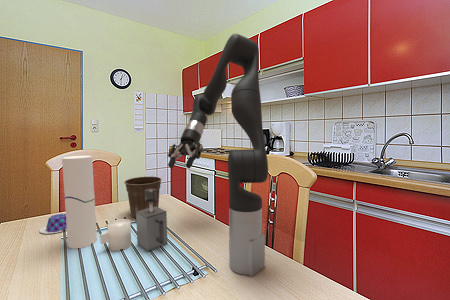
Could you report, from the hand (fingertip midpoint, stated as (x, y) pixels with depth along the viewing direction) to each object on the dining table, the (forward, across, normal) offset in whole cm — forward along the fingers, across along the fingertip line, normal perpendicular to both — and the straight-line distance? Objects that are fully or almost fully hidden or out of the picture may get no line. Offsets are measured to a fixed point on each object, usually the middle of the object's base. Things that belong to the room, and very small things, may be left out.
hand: (178, 167), depth 87 cm
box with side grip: (+28, +1, -5) cm, 28 cm away
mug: (+31, +12, 0) cm, 34 cm away
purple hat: (+31, +46, +3) cm, 56 cm away
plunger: (+25, +3, -4) cm, 25 cm away
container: (+33, +25, +4) cm, 42 cm away
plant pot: (+14, +28, -19) cm, 37 cm away
